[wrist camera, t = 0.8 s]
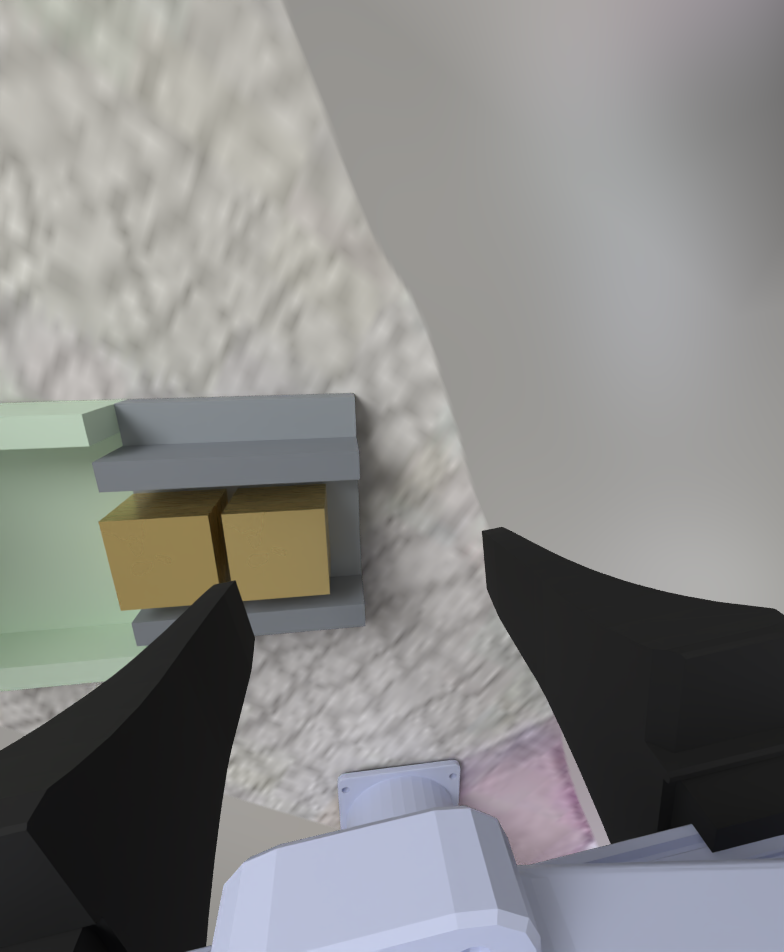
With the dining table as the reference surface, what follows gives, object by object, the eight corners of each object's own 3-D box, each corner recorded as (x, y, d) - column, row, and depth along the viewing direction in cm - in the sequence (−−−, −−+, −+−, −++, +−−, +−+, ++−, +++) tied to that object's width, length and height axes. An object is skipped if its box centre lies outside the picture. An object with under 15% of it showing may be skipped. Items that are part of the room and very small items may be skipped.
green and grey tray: (362, 610, 24) (366, 657, 20) (-45, 644, 22) (-118, 704, 18) (353, 393, 20) (357, 406, 17) (-143, 406, 18) (-259, 425, 14)
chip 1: (237, 566, 21) (222, 602, 18) (150, 572, 20) (120, 610, 18) (226, 488, 20) (207, 515, 17) (133, 493, 19) (98, 521, 16)
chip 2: (330, 559, 21) (329, 593, 19) (248, 565, 21) (234, 601, 18) (325, 483, 20) (324, 508, 17) (237, 488, 20) (220, 514, 17)
